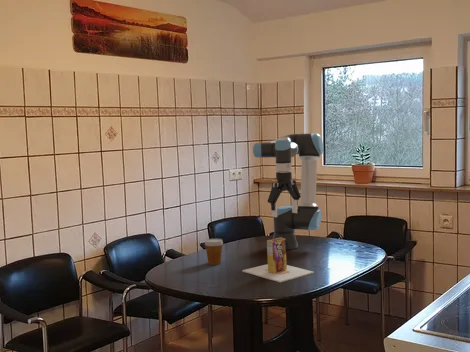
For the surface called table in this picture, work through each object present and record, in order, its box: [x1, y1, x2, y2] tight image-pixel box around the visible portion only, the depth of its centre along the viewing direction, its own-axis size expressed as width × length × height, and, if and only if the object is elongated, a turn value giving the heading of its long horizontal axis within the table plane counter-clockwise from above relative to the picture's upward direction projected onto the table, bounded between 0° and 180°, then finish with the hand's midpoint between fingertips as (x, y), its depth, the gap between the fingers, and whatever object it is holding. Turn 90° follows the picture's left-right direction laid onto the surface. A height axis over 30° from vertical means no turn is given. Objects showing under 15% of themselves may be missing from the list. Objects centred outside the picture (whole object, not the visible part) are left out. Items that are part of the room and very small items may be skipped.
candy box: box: [266, 237, 288, 273], centre depth 260 cm, size 9×4×15 cm, turn 130°
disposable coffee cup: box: [204, 238, 224, 266], centre depth 280 cm, size 10×10×12 cm
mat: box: [242, 263, 315, 283], centre depth 261 cm, size 26×22×1 cm
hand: (284, 214), depth 268 cm, fingers open, 13 cm apart
